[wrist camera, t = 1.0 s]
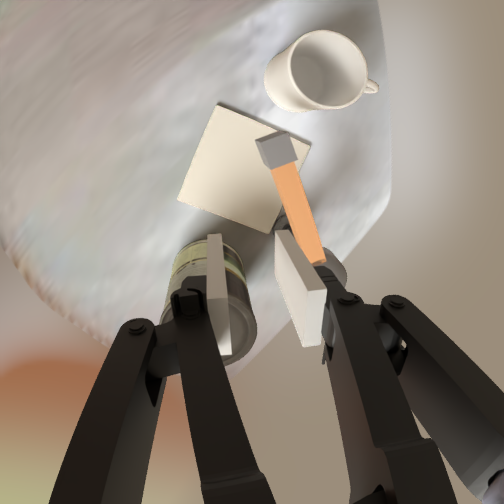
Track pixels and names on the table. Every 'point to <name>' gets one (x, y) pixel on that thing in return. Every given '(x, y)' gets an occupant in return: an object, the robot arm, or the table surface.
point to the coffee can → (239, 304)
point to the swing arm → (296, 200)
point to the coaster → (235, 172)
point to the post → (282, 225)
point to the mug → (318, 73)
